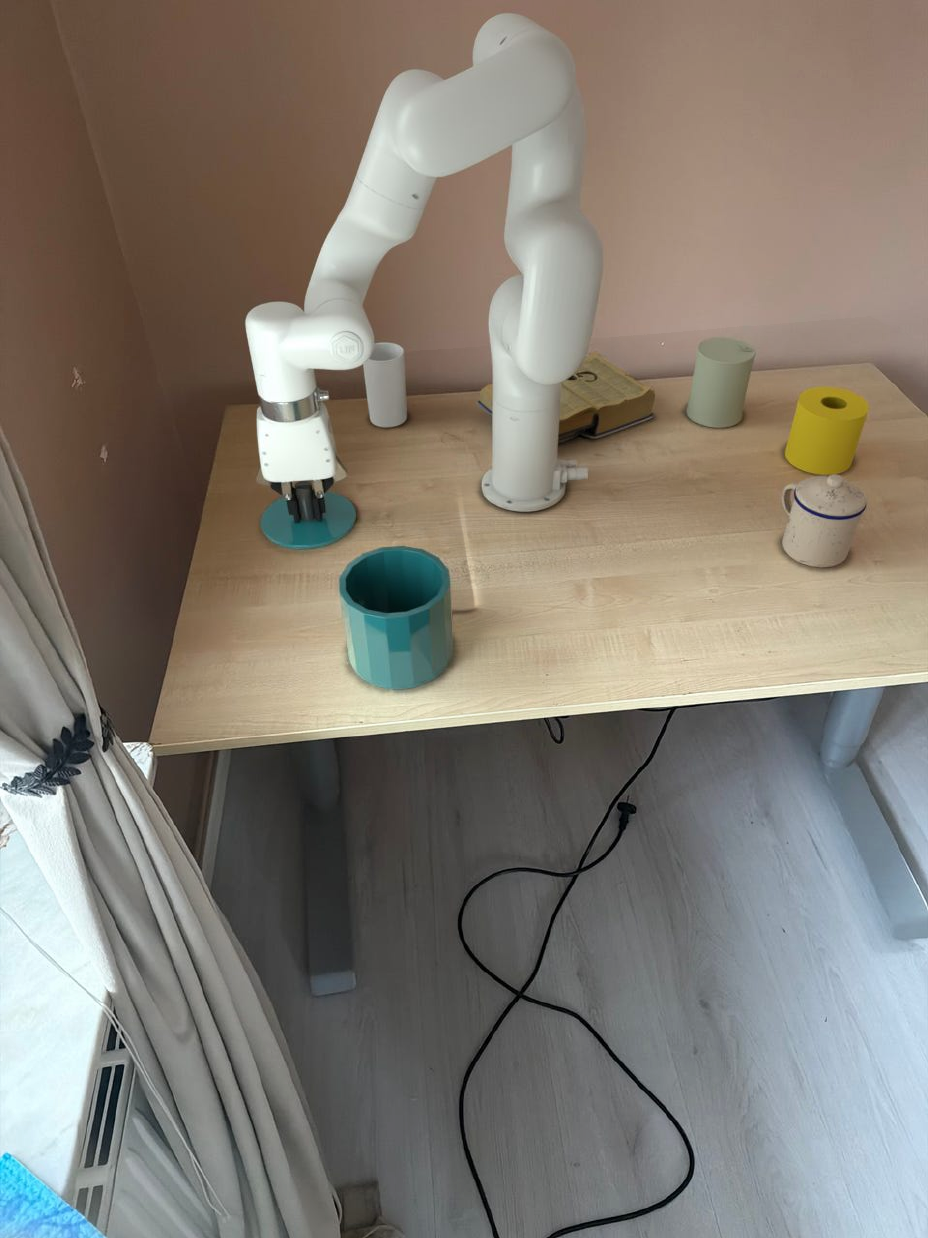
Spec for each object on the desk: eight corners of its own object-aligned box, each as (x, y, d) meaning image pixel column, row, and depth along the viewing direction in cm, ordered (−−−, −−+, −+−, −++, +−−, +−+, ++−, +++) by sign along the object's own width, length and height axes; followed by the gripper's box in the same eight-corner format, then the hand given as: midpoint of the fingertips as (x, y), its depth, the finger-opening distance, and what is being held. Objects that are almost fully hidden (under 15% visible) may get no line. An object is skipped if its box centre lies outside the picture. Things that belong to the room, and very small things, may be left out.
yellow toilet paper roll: (814, 481, 135) (830, 425, 129) (771, 449, 142) (784, 395, 136) (865, 465, 138) (883, 410, 132) (821, 434, 145) (836, 381, 139)
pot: (447, 613, 115) (445, 542, 107) (456, 685, 106) (454, 612, 98) (349, 621, 114) (339, 550, 106) (349, 693, 105) (338, 621, 97)
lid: (356, 493, 135) (351, 455, 131) (356, 548, 125) (352, 509, 121) (265, 499, 134) (257, 461, 130) (258, 556, 124) (250, 516, 120)
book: (595, 378, 160) (598, 347, 156) (654, 418, 150) (659, 386, 146) (476, 416, 151) (475, 384, 147) (530, 461, 141) (531, 428, 137)
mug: (413, 423, 150) (409, 356, 142) (375, 432, 148) (369, 364, 140) (395, 396, 157) (390, 331, 149) (358, 404, 155) (351, 338, 147)
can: (747, 427, 147) (762, 359, 139) (691, 428, 147) (703, 360, 139) (735, 399, 154) (749, 333, 146) (682, 400, 154) (692, 334, 146)
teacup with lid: (863, 557, 122) (889, 485, 114) (812, 577, 119) (835, 505, 111) (800, 511, 130) (820, 441, 122) (751, 530, 127) (769, 459, 119)
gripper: (351, 383, 120) (363, 498, 132) (229, 391, 119) (253, 505, 131) (351, 412, 114) (364, 528, 127) (223, 420, 113) (249, 536, 126)
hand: (308, 515), depth 129 cm, fingers closed on lid, 2 cm apart
